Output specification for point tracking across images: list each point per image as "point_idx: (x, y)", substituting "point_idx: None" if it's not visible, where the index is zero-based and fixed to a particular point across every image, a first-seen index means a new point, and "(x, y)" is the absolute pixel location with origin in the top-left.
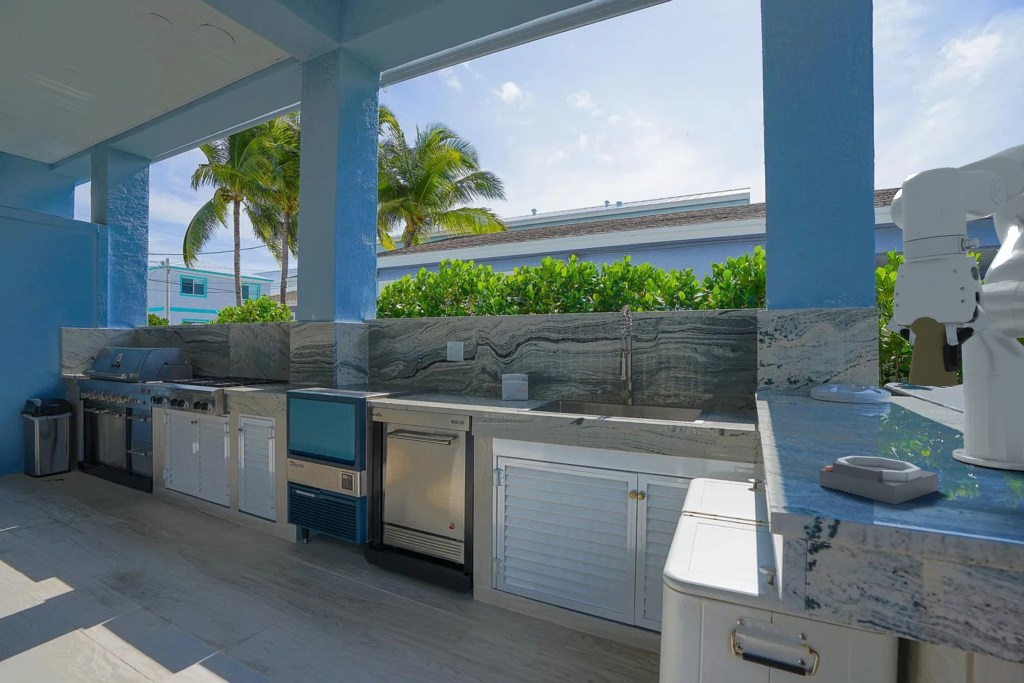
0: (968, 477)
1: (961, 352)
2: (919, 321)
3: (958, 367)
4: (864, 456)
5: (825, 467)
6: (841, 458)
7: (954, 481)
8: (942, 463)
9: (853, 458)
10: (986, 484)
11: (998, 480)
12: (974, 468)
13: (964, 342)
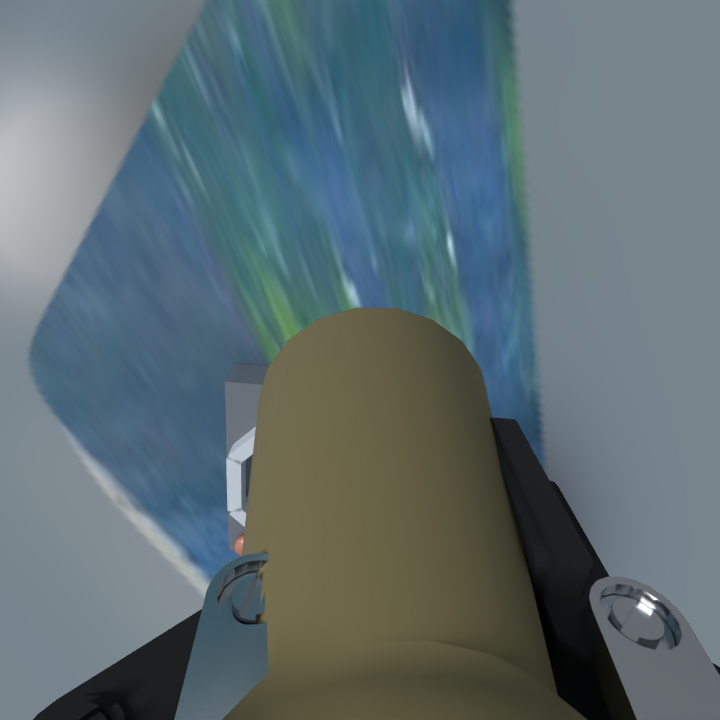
0: (415, 154)
1: (588, 548)
2: None
3: (516, 430)
4: (251, 440)
5: (238, 552)
6: (231, 502)
7: (402, 244)
8: None
9: (241, 467)
10: (466, 210)
11: (481, 122)
12: None
13: (661, 609)
